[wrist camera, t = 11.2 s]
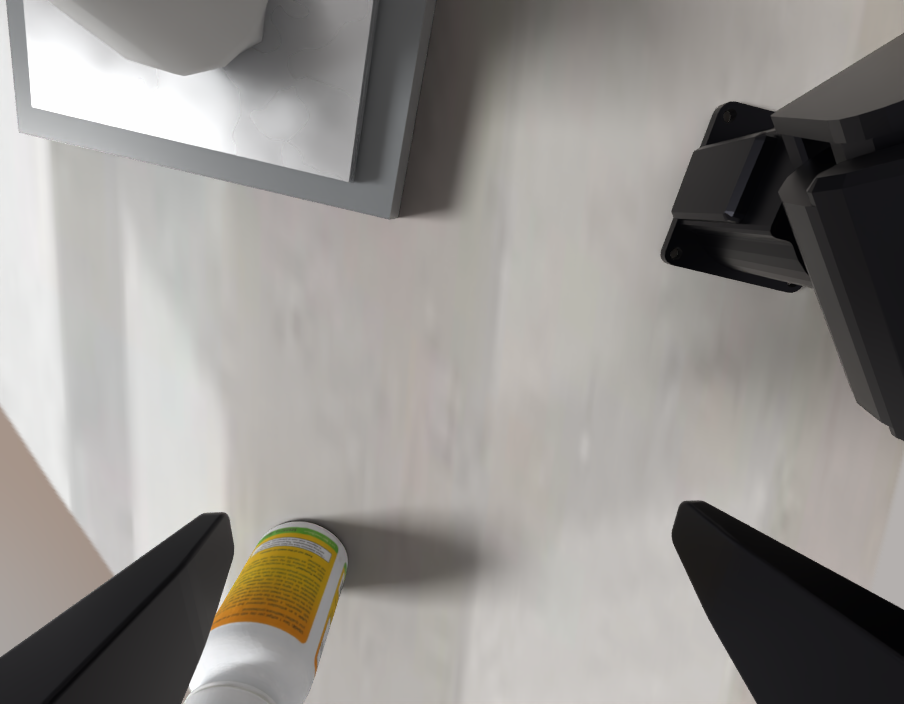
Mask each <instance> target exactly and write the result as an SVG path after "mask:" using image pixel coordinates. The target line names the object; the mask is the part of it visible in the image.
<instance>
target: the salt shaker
mask: <svg viewBox="0 0 904 704" xmlns="http://www.w3.org/2000/svg"><path fill="white" fill-rule="evenodd" d="M47 1H48V2H50V3H51V4H52V5H54V6H55V7H57V8H58V9H59V10H61V11H62V12H63V13H65V14H66V15H67V16H69V17H70V18H71V19H73V20H74V21H75V22H77V23H78V24H80V25H81V26H82V27H84V28H85V29H86V30H88V31H89V32H90V33H92V34H93V35H94V36H96V37H97V38H98V39H100V40H101V41H103V42H104V43H105V44H107V45H108V46H109V47H111V48H112V49H113V50H115V51H116V52H117V53H119V54H120V55H121V56H123V57H124V58H125V59H127V60H130V61H133V62H137V63H140V64H143V65H146V66H150V67H153V68H156V69H160V70H163V71H166V72H169V73H173V74H177V75H181V76H188V75H192V74H196V73H201V72H205V71H209V70H213V69H218V68H222V67H225V66H226V65H227V64H228V63H230V62H231V61H232V60H233V59H234V58H235V57H236V56H237V55H238V54H240V53H242V52H244V51H245V50H247V49H249V48H251V47H253V46H254V45H256V44H258V43H260V42H262V40H263V31H264V22H265V13H266V7H267V3H268V0H47Z"/></svg>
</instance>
